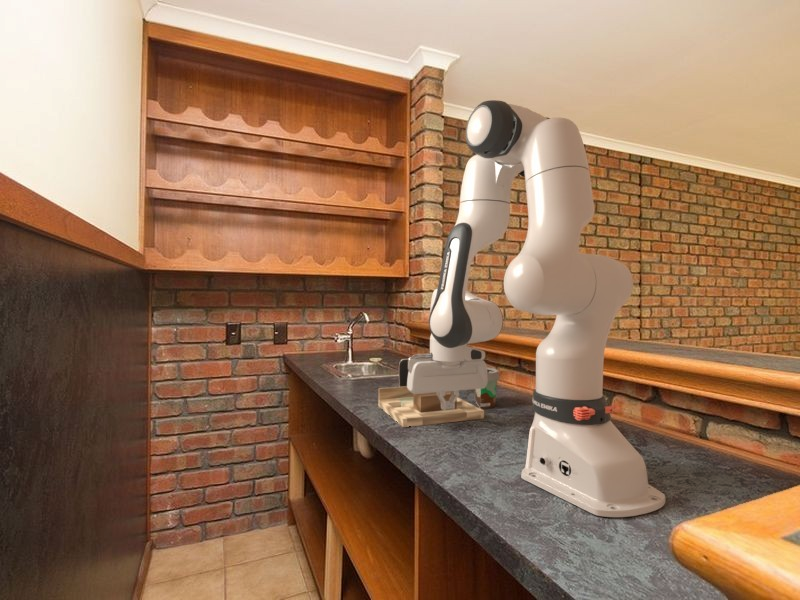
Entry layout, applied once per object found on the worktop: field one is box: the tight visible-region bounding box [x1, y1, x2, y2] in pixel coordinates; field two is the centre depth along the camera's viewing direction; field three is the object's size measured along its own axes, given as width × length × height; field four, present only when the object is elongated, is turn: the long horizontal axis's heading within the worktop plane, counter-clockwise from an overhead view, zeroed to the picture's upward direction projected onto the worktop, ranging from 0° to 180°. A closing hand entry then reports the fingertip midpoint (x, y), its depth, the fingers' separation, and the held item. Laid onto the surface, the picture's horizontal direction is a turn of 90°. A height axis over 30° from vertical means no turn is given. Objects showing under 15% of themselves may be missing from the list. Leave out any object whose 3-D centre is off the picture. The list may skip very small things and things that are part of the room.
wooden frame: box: [377, 386, 485, 428], centre depth 113 cm, size 20×22×5 cm
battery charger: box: [398, 357, 413, 387], centre depth 131 cm, size 7×4×11 cm, turn 92°
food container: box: [474, 366, 500, 410], centre depth 120 cm, size 12×6×10 cm, turn 179°
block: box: [413, 391, 457, 413], centre depth 109 cm, size 5×10×4 cm, turn 110°
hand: (447, 409), depth 102 cm, fingers closed
